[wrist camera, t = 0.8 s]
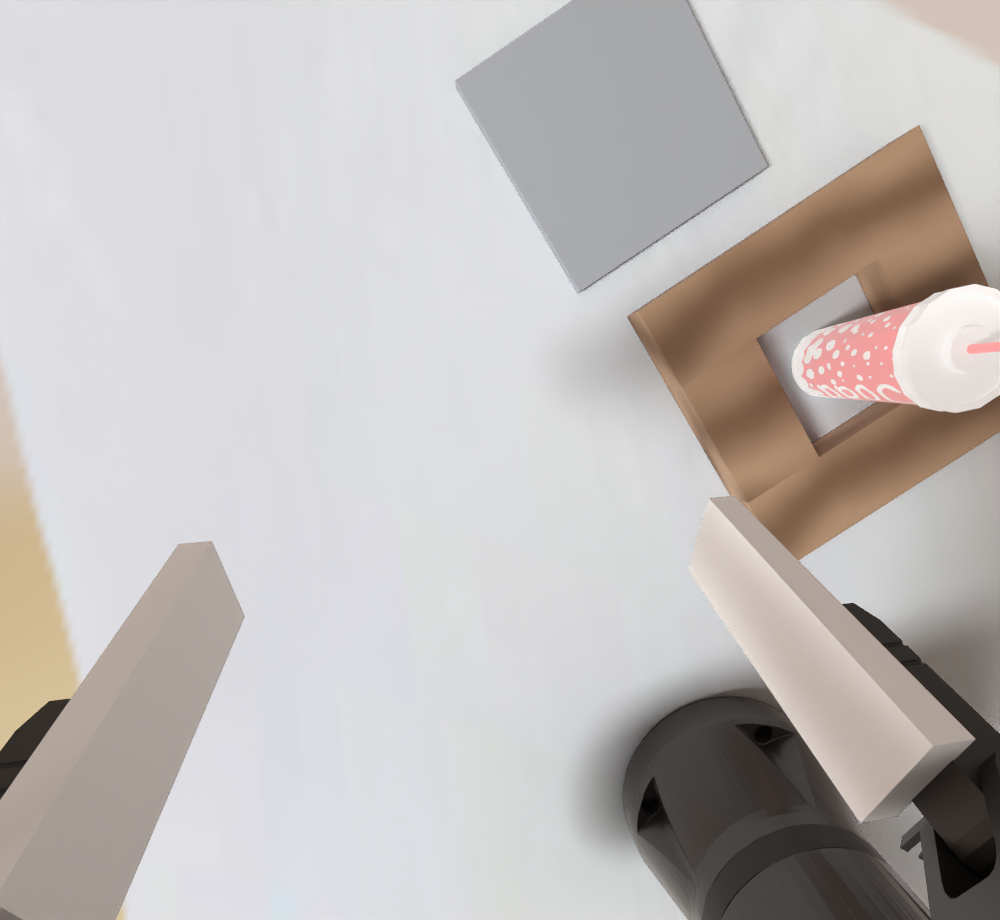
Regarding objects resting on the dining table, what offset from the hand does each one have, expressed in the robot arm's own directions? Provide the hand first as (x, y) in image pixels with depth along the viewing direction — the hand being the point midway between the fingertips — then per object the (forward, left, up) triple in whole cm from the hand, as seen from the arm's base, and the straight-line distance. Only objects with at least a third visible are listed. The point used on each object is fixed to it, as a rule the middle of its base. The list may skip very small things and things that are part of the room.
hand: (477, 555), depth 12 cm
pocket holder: (-8, -24, -18) cm, 31 cm away
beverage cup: (-8, -24, -18) cm, 31 cm away
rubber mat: (+12, -19, -18) cm, 29 cm away
